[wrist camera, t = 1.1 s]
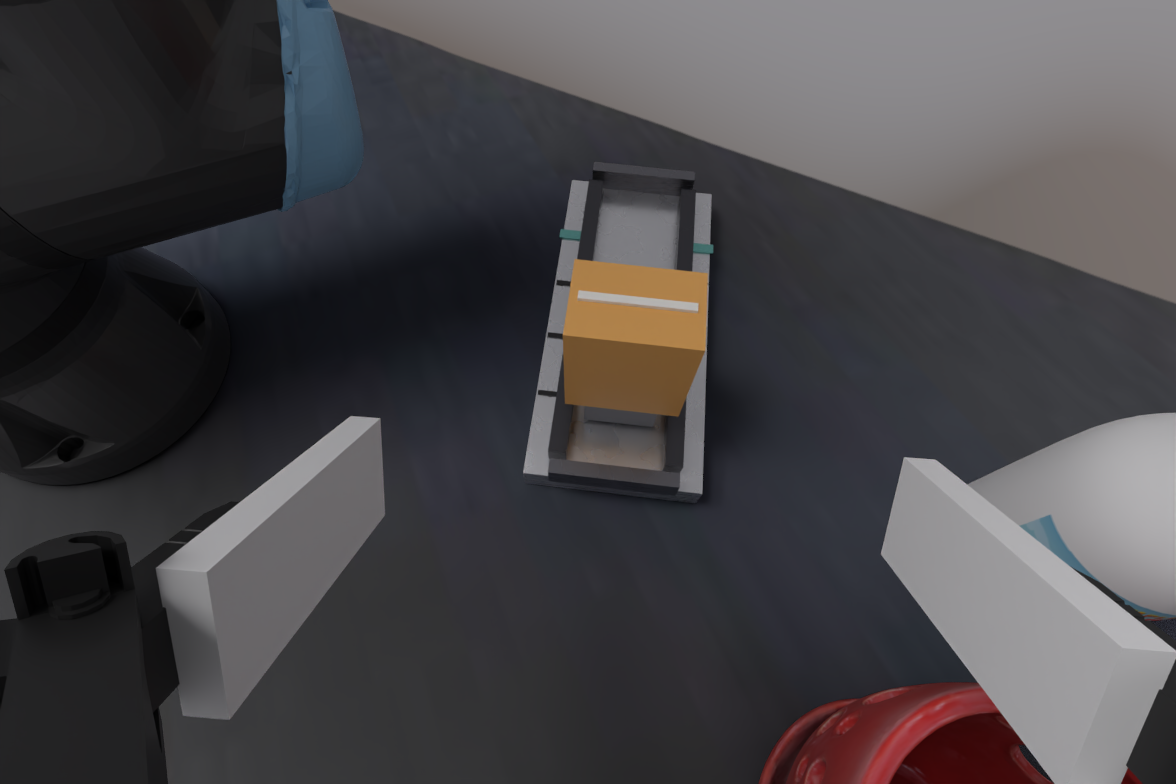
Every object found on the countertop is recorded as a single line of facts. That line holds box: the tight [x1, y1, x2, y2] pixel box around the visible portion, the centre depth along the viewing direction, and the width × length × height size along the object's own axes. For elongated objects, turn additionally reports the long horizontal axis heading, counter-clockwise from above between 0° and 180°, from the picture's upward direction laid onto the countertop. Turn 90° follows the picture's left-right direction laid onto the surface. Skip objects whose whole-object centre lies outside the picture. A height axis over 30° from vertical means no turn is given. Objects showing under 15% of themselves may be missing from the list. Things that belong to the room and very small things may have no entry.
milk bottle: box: [967, 413, 1176, 621], centre depth 24 cm, size 8×8×20 cm
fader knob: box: [563, 259, 708, 427], centre depth 30 cm, size 4×6×10 cm, turn 83°
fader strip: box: [523, 162, 713, 503], centre depth 38 cm, size 23×10×4 cm, turn 173°
